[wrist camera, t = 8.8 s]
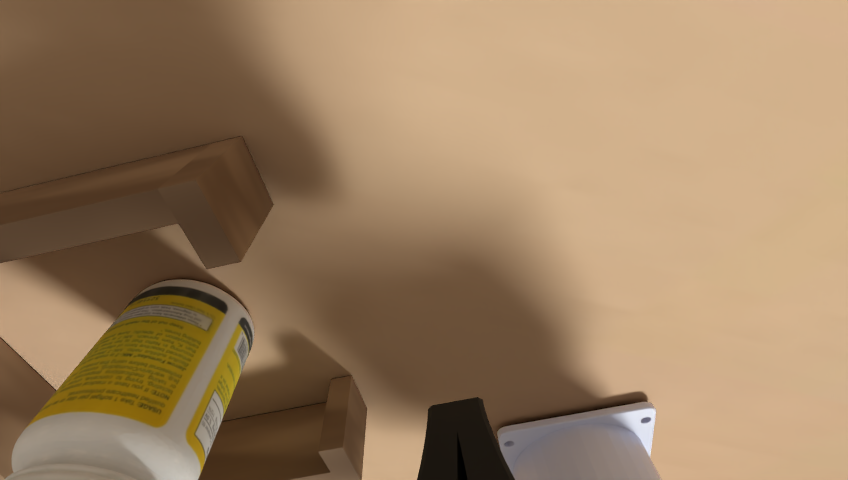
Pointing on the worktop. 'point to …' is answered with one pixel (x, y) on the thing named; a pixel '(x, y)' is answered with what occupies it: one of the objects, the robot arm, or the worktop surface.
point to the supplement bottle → (144, 391)
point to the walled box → (216, 246)
